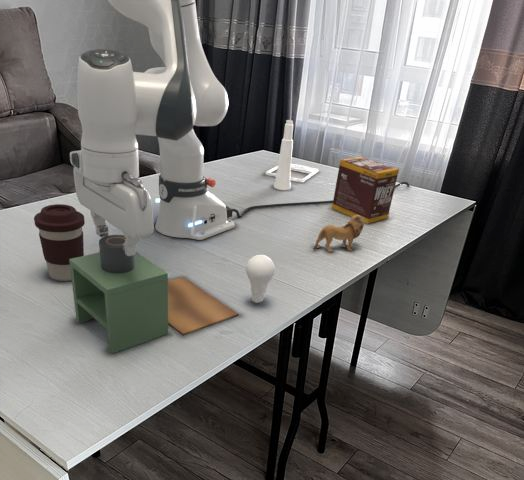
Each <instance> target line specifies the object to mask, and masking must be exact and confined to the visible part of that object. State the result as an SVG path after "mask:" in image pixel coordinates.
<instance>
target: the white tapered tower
mask: <svg viewBox="0 0 524 480" xmlns="http://www.w3.org/2000/svg"><path fill="white" fill-rule="evenodd" d="M285 122H286V123H284V130H283V138H282V139H281V144H280V148H279V149H280V150H279V157H278V164H277V165H278V169H277V170H276V173H275V174H276V177H275V179H274V183H273V188H274V189H275V190H279V191H290V190H291V188H292V183H291V181H292V180H291V177H292V175H291V174H292V170H291V163H292V157H293V144H294V140H293V132H294V121H293V120H292V119H286V120H285Z"/></svg>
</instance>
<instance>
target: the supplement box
mask: <svg viewBox="0 0 524 480" xmlns="http://www.w3.org/2000/svg"><path fill="white" fill-rule="evenodd" d="M399 170H400V169H399V168H398V167H393V166H390V165H387V164H386V163H385V164H384V163H382V162H380V161H376V160H373V159H371V158H367V157H364V156H357V157H351V158H345V159H340V160H339V166H338V172H337V178H336V183H335V188H334V194H333V199H332V200H333V203H331V204H332V205H331V209H333V210H334V211H337V212H339V213H342V214H343V215H346V216H348V217H350V218H351V217H353V216H355V215H360V216H362V217H363V218H364V224H367V225H369V224H372V223H376V222H379V221H383V220H387V219H388V218H389V216H390V215H389V214H390V210H391V205H392V200H393V197H394V193H395V192H394V191H395V189H396V188H395V185H397V179H398V174H399Z"/></svg>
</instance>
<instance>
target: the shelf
mask: <svg viewBox="0 0 524 480" xmlns="http://www.w3.org/2000/svg"><path fill="white" fill-rule="evenodd" d="M69 262H70V270H71V278H72V280H71V286H72V295H73V304H74V310H75V311H74V312H75V318H76V321H77V323H83V322H86V321H90V320H92V319H94V320H96V321H97V322H98V323H99V324H100V325H101V326H103V328H105V329H106V330H107V341H108V342H107V343H108V351H109V352H110V353H111V354H115V353H116V354H117V353H119V352H120V351H121V352H122V351H124V350H126V349H127V350H128V349H130V348H132V347H135V346H138V345H142V344H143V343H146V342H149V341H152V340H155V339H157V338H158V339H159V338H161V337H163V336H164V337H165V336H166V335H168V334H169V324H168V281H169V273H168V272H167V271H166V270H164V269H162V268H161V267H160V266H158V265H157V264H156V263H154V262H152V261H151V260H149V259H148V258H146V257H145V256H143V255H142V254H141V253H139V252H137V251H136V254H135V268H134V269H133V270H131V271H129V272H125V273H110V272H107V271H104V270H103V269H102V268H101V260H100V251H99V252H94V253H90V254H86V255H85V254H84V256H81V257H76V258H72V259H69Z"/></svg>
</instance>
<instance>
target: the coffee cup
mask: <svg viewBox="0 0 524 480" xmlns="http://www.w3.org/2000/svg"><path fill="white" fill-rule="evenodd" d="M33 220H34V222H33V223H34V226H35V227H36V228H37V229H38V231H39V233H38V237H39V241H40V245H41V249H42V254H43V259H44V261H45V263H46V268H47V272H48V275H49V277H50V278H51V279H53V280H55V281H60V282H70V281H71V282H72V278H71V270H70V262H69V259H72V258H76V257H81V256H85V252H84V251H85V250H84V249H85V248H84V247H85V245H84V231H83V227H84V226H85V216H84V214H83V213H82V212H80V211H77V209H76V208H75V207H74V206H72V205H68V204H62V203H60V204H59V203H56V204H49V205H46V206H44V207H42V208H41V209H40V211H39V212H38V213H36V214H35V215H34V217H33Z"/></svg>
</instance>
